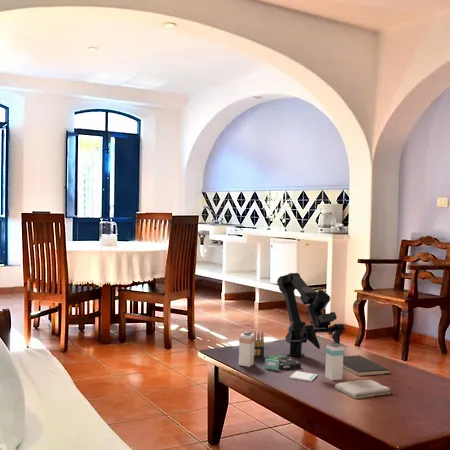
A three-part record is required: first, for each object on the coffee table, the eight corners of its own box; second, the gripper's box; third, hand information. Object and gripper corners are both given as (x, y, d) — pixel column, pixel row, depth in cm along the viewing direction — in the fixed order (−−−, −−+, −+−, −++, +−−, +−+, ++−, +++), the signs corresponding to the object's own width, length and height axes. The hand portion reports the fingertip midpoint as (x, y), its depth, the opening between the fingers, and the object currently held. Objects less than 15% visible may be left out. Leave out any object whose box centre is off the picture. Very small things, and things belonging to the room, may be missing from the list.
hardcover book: (357, 377, 233) (357, 371, 233) (329, 361, 254) (330, 356, 254) (390, 374, 238) (390, 369, 238) (360, 360, 260) (361, 355, 259)
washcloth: (392, 394, 212) (392, 386, 212) (354, 400, 204) (354, 392, 204) (370, 385, 222) (371, 377, 222) (334, 390, 214) (334, 382, 214)
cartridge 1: (242, 362, 247) (244, 330, 246) (253, 363, 245) (255, 331, 244) (238, 365, 242) (239, 332, 242) (249, 366, 240) (250, 334, 240)
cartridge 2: (324, 376, 230) (326, 342, 230) (335, 375, 232) (337, 341, 231) (331, 380, 225) (332, 345, 225) (342, 379, 227) (344, 344, 227)
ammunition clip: (262, 356, 257) (263, 330, 257) (264, 357, 256) (265, 331, 255) (240, 357, 255) (241, 331, 254) (241, 358, 253) (242, 331, 253)
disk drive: (301, 369, 241) (283, 360, 254) (301, 363, 241) (283, 353, 254) (280, 371, 237) (263, 361, 250) (280, 365, 236) (263, 355, 250)
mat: (296, 372, 234) (296, 370, 234) (317, 375, 230) (317, 374, 230) (289, 378, 226) (289, 376, 226) (311, 381, 222) (311, 380, 222)
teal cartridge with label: (265, 367, 239) (265, 358, 239) (278, 370, 237) (278, 360, 236) (264, 368, 238) (264, 359, 238) (278, 370, 236) (278, 361, 236)
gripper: (304, 305, 234) (316, 338, 224) (343, 304, 240) (357, 336, 230) (295, 321, 241) (306, 353, 231) (333, 319, 248) (345, 350, 238)
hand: (329, 347), depth 232 cm, fingers open, 9 cm apart
